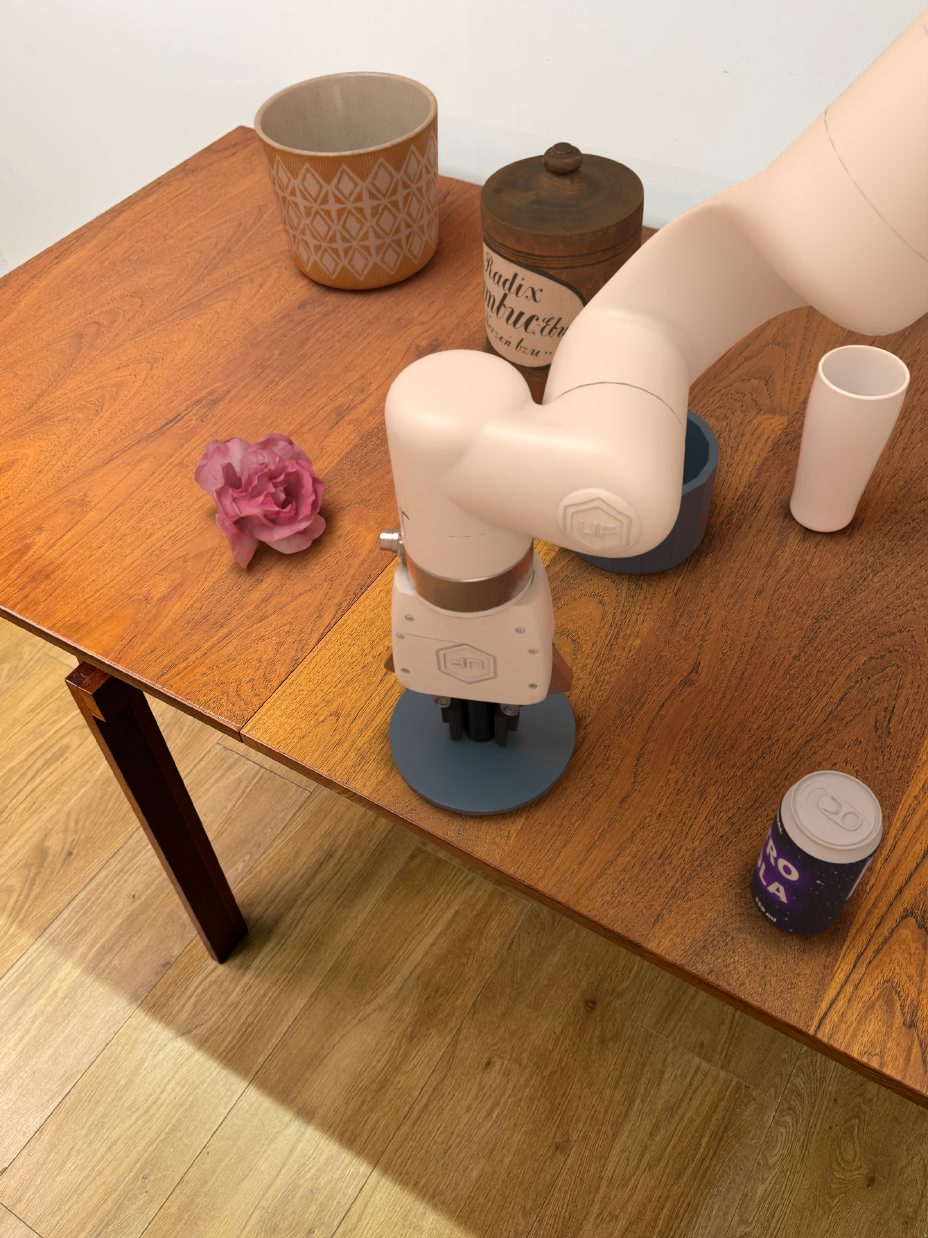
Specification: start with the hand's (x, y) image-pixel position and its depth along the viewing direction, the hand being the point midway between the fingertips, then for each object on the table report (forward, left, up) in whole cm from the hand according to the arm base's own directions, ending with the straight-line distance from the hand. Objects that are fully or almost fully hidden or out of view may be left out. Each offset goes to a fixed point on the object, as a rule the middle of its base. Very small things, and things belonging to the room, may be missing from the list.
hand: (481, 725), depth 72 cm
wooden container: (0, -46, -2) cm, 46 cm away
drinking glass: (-25, -27, -2) cm, 37 cm away
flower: (+22, -19, -2) cm, 29 cm away
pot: (-9, -24, -2) cm, 26 cm away
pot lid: (0, 0, -1) cm, 1 cm away
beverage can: (-22, +9, -2) cm, 24 cm away
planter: (+25, -64, -2) cm, 69 cm away
